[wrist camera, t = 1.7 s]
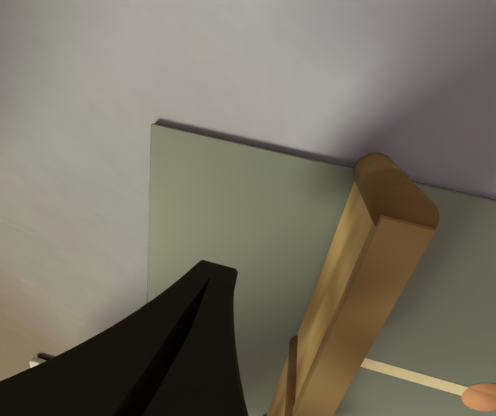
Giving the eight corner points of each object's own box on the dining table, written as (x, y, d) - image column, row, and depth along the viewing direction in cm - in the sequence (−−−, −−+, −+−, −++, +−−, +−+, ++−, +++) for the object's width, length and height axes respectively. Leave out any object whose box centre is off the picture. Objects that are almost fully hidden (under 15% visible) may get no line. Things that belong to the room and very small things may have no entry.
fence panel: (322, 340, 16) (327, 430, 12) (294, 332, 16) (289, 419, 12) (401, 158, 11) (454, 205, 7) (361, 149, 11) (390, 190, 7)
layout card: (436, 472, 20) (438, 478, 20) (147, 381, 22) (144, 385, 22) (671, 240, 11) (681, 244, 11) (153, 123, 13) (150, 124, 13)
